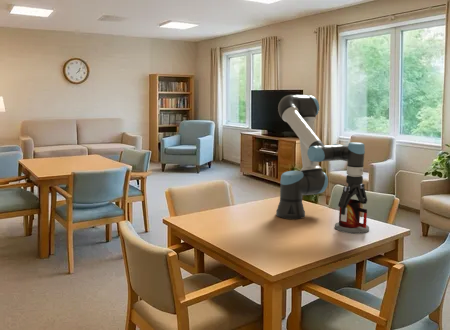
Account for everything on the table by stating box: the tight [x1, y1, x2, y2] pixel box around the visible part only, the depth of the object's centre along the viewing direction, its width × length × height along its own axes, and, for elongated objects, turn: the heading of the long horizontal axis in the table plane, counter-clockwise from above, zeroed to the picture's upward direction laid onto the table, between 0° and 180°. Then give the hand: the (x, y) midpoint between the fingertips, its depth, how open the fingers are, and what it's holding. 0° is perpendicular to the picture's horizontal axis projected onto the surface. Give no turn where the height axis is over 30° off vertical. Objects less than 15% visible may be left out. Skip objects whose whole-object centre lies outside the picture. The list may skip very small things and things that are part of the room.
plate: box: [334, 221, 370, 235], centre depth 217 cm, size 16×16×1 cm
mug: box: [338, 198, 368, 228], centre depth 216 cm, size 10×14×12 cm
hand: (352, 218), depth 217 cm, fingers open, 13 cm apart
